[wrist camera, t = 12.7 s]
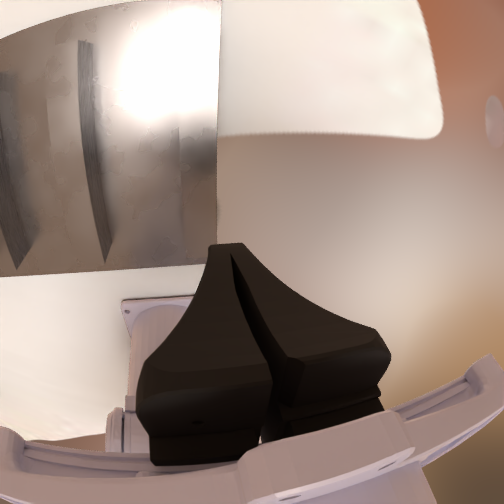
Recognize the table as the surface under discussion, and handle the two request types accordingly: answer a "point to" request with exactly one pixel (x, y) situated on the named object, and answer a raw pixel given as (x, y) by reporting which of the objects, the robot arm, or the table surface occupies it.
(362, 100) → the table surface
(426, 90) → the table surface
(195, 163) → the rack
